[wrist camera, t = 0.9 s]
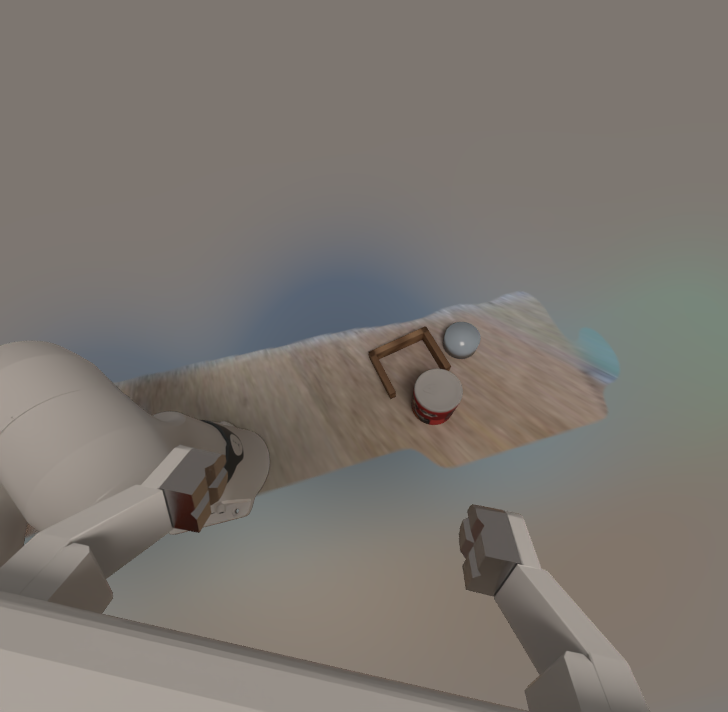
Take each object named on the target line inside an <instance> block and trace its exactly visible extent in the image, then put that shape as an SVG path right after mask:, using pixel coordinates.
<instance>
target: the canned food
mask: <svg viewBox="0 0 728 712" xmlns="http://www.w3.org/2000/svg"><path fill="white" fill-rule="evenodd" d="M462 394H463V389H462V385H461V382H460V381H459V379H458V378H457V377H456V376H455V375H454V374H453V373H451V372H449V371H447V370H444V369H431V370H428V371H426V372H424V373H422V374H421V375H420V376H419V377H418V379H417V381H416V383H415V386H414V392H413V400H412V409H413V412H414V414H415V416H416V417H417V418H418V419H419V420H420V421H422V422H424V423H426V424H430V425H438V424H441V423H444V422H445V421H447V420H448V419H449V418H450V416H451V415H452V413H453V412H454V410H455V409H456V408H457V406H458V404H459V403H460V401H461V398H462Z"/></svg>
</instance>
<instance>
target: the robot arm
mask: <svg viewBox="0 0 728 712" xmlns="http://www.w3.org/2000/svg"><path fill="white" fill-rule="evenodd" d="M269 465H270V457H269V452H268V448H267V446H266V444H265V442H264V441H263V439H262V438H261V437H260V436H259V435H257V434H256V433H254V432H252V431H250V430H246V429H239V428H236V427H235V426H234V425H232V424H231V423H229V422H225V421H223V422H220V423H216V422H211V421H205V420H198V419H195V418H192V417H190V416H187V415H185V414H182V413H180V412H174V411H166V412H161V413H157V414H155V415H153V416H152V415H150V414H149V413H147V412H146V411H145V410H144V409H142V408H141V407H140V406H138V405H137V404H136V403H135V402H133V401H132V400H131V399H130V398H129V397H128V396H127V395H125V394H124V393H123V392H122V391H121V390H119V389H118V388H117V387H116V386H115V385H114V384H113V383H112V382H111V381H110V380H109V379H108V378H107V377H106V376H105V375H104V374H103V373H102V372H101V371H100V370H99V369H98V368H97V367H96V366H95V365H94V364H93V363H91V362H89V361H88V360H86V359H84V358H82V357H81V356H79V355H77V354H75V353H73V352H71V351H69V350H67V349H65V348H63V347H61V346H59V345H56V344H53V343H49V342H43V341H19V342H13V343H8V344H4V345H0V712H650V710H649V708H648V706H647V704H646V701H645V700H644V697H643V695H642V693H641V691H640V688H639V686H638V684H637V682H636V680H635V678H634V675H633V673H632V671H631V669H630V667H629V664H628V663H627V662H626V660H625V659H624V658H623V657H622V656H621V655H620V653H619V652H618V651H617V650H616V649H615V648H614V647H613V645H612V644H611V643H610V642H609V641H608V640H607V639H606V637H605V636H604V635H603V634H602V633H601V632H600V631H599V630H598V628H597V627H596V626H595V625H594V624H593V623H592V621H591V620H590V619H589V618H588V617H587V616H586V615H585V614H584V612H583V611H582V610H581V609H580V608H579V607H578V605H577V604H576V603H575V602H574V601H573V600H572V599H571V597H570V596H569V595H568V594H567V593H566V592H565V591H564V589H563V588H562V587H561V586H560V585H559V584H558V583H557V581H556V580H555V579H554V578H553V577H552V576H551V575H550V574H549V572H547V570H544V569H541V566H540V563H539V560H538V557H537V555H536V552H535V549H534V546H533V544H532V541H531V538H530V535H529V532H528V529H527V527H526V524H525V521H524V518H523V517H522V515H521V514H518V513H513V512H508V511H503V510H499V509H494V508H489V507H484V506H479V505H473V504H472V505H471V506H470V507H469V509H468V511H467V513H468V518H466V519H464V520H463V521H462V524H461V526H460V532H459V545H460V551H461V553H462V554H463V555H464V557H465V558H466V560H465V562H464V564H463V573H464V580H465V587H466V590H469V591H473V592H478V593H482V594H486V595H489V596H494V599H495V601H496V603H497V604H498V606H499V608H500V609H501V611H502V613H503V614H504V616H505V618H506V619H507V621H508V623H509V624H510V626H511V628H512V629H513V631H514V633H515V634H516V636H517V638H518V639H519V641H520V643H521V644H522V646H523V648H524V649H525V651H526V653H527V654H528V656H529V658H530V659H531V661H532V663H533V664H534V666H535V668H536V669H537V671H538V673H539V674H540V675H539V676H538V677H537V678H536V679H535V680H534V681H533V682H532V683H531V684H530V685H528V687H527V688H526V689H525V694H526V699H527V704H528V708H529V711H526V710H522V709H517V708H513V707H509V706H504V705H500V704H496V703H491V702H487V701H483V700H478V699H473V698H469V697H465V696H460V695H456V694H451V693H447V692H443V691H439V690H434V689H429V688H426V687H421V686H417V685H412V684H408V683H403V682H399V681H395V680H390V679H386V678H382V677H377V676H372V675H369V674H364V673H360V672H355V671H351V670H347V669H342V668H338V667H333V666H329V665H324V664H320V663H316V662H312V661H307V660H303V659H298V658H294V657H290V656H285V655H281V654H276V653H272V652H268V651H263V650H259V649H254V648H250V647H246V646H241V645H237V644H232V643H228V642H223V641H219V640H215V639H210V638H206V637H201V636H197V635H193V634H189V633H184V632H179V631H175V630H171V629H166V628H162V627H158V626H154V625H149V624H145V623H140V622H136V621H132V620H127V619H123V618H118V617H114V616H110V615H105V614H102V613H103V612H104V610H105V609H106V607H107V606H108V605H109V603H110V602H111V600H112V599H113V592H112V590H111V588H110V586H109V584H108V582H107V581H106V578H108V577H109V576H111V575H112V574H113V573H115V572H116V571H117V570H119V569H120V568H121V567H123V566H124V565H126V564H127V563H128V562H130V561H131V560H132V559H134V558H135V557H136V556H138V555H139V554H140V553H142V552H143V551H144V550H146V549H147V548H148V547H150V546H151V545H153V544H154V543H155V542H157V541H158V540H159V539H160V538H162V537H163V536H165V535H166V534H167V533H169V534H179V533H183V532H187V531H192V532H198V533H199V532H200V531H201V529H202V528H203V527H207V526H211V525H214V524H218V523H222V522H226V521H230V520H234V519H238V518H242V517H245V516H247V515H249V513H250V512H251V509H252V507H253V503H254V499H255V497H256V495H257V493H258V492H259V490H260V489H261V487H262V486H263V484H264V482H265V480H266V478H267V475H268V471H269ZM237 509H239V512H238V513H237V512H236V510H237ZM27 523H28V524H29V525H31V526H32V527H33V528H34V529H36V530H37V531H38V532H39V533H37V534H36V535H35V536H34V537H33V538H32V539H31V540H30V541H29V542H28V543H26V544H25V545H24V541H25V532H26V527H27Z"/></svg>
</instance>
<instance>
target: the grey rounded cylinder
mask: <svg viewBox="0 0 728 712" xmlns="http://www.w3.org/2000/svg"><path fill="white" fill-rule="evenodd" d="M479 343H480V333H479V331H478V330H477V328H476V327H474V326H473V325H472V324H469V323H466V322H457V323H454V324H452V325H450V326H449V327H448V329H447V330H446V333H445V336H444V340H443V347H444V349H445V351H446V352H447V353H448V354H449V355H450V356H452V357H454V358H457V359H465V358H468V357H470V356H472V355H473V354H474V352H475V351H476V349H477V347H478V345H479Z"/></svg>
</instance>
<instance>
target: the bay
mask: <svg viewBox="0 0 728 712" xmlns="http://www.w3.org/2000/svg"><path fill="white" fill-rule="evenodd" d="M420 340H423V341H424V343H425V344H426V346H427V348H428V349H429V351H430V353H431V354H432V356H433V358H434V359H435V361H436V362H437V364H438V366H439V367H440V369H444V370H447V371H449V370H450V367H451V365H450V364H449V362H448V361H447V359H446V357H445V356H444V354H443V353H442V351H441V350H440V348H439V346H438V345H437V343H436V342H435V340H434V338H433V337H432V335H431V334H430V332H429V330H428V329H427V327H426V326H425V327H423V328H421V329H419V330H416V331H414V332H412V333H410V334H408V335H405V336H403V337H401V338H399V339H396V340H394V341H392V342H390V343H388V344H385V345H383V346H381V347H379V348H376V349H374V350H372V351H370V352H369V357H370V360H371V362H372V364H373V366H374V368H375V370H376V371H377V373H378V375H379V377H380V379H381V381H382V383H383V385H384V387H385V389H386V391H387V393H388V395H389V397H390V399H391V398H394V397H396V392H395V390H394V388H393V386H392V384H391V382H390V380H389V378H388V376H387V374H386V372H385V370H384V369H383V367H382V365H381V363H380V361H379V359H381V358H383V357H385V356H387V355H390V354H392V353H394V352H396V351H398V350H401V349H403V348H405V347H407V346H409V345H412V344H414V343H416V342H418V341H420Z"/></svg>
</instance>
